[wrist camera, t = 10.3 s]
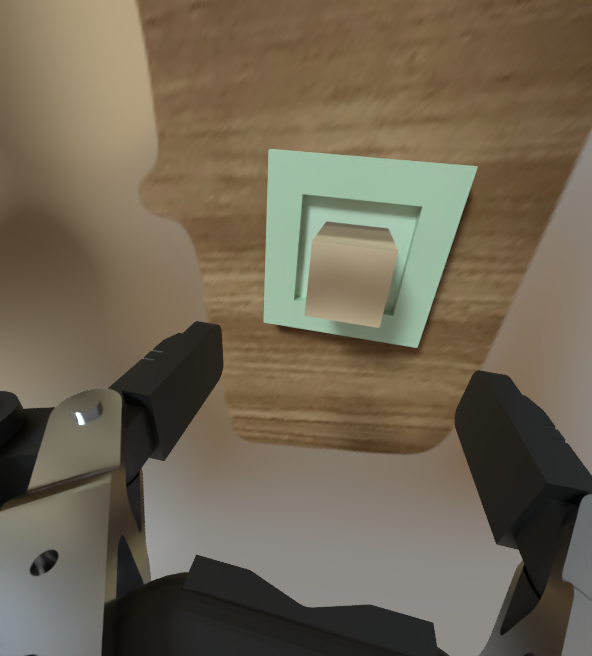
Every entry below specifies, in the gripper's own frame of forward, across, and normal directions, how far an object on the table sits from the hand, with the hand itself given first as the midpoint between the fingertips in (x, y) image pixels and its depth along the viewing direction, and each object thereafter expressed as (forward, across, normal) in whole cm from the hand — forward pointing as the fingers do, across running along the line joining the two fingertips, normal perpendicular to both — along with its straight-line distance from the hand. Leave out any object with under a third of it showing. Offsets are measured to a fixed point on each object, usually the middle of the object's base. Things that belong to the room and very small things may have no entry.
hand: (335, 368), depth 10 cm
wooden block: (+15, 0, 0) cm, 15 cm away
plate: (+16, 0, 0) cm, 16 cm away
